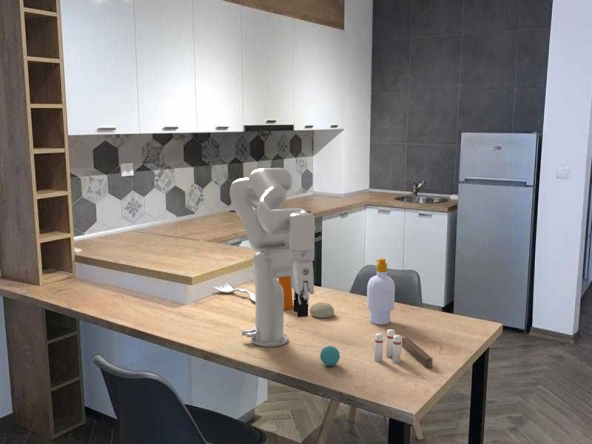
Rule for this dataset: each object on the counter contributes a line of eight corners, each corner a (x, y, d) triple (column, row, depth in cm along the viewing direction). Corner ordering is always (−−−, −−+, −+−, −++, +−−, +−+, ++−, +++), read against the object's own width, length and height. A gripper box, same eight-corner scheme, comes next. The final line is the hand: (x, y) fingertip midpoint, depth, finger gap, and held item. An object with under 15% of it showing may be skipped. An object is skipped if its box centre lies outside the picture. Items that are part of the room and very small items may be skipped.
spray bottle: (269, 311, 232) (269, 245, 227) (279, 303, 242) (279, 240, 237) (285, 313, 229) (286, 247, 225) (295, 305, 239) (296, 242, 235)
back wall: (426, 368, 181) (426, 359, 180) (401, 346, 198) (402, 337, 198) (432, 367, 181) (432, 358, 181) (407, 345, 199) (407, 337, 198)
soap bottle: (360, 322, 221) (362, 259, 217) (376, 315, 229) (378, 254, 224) (383, 328, 214) (385, 263, 210) (399, 321, 222) (401, 259, 218)
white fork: (224, 288, 263) (224, 281, 263) (280, 302, 244) (280, 294, 243) (210, 293, 256) (210, 285, 256) (266, 308, 237) (266, 299, 236)
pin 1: (387, 357, 189) (388, 332, 187) (384, 354, 191) (385, 329, 190) (395, 356, 189) (396, 331, 188) (391, 353, 192) (393, 328, 190)
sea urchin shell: (317, 304, 235) (329, 294, 230) (328, 321, 233) (341, 310, 228) (303, 310, 228) (315, 299, 224) (314, 327, 226) (326, 316, 221)
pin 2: (394, 363, 184) (395, 337, 182) (390, 360, 186) (392, 335, 185) (401, 363, 185) (402, 337, 183) (398, 360, 187) (399, 334, 185)
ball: (323, 369, 179) (323, 351, 178) (317, 361, 185) (318, 343, 184) (342, 368, 181) (342, 349, 180) (336, 360, 186) (336, 342, 185)
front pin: (376, 362, 185) (377, 336, 184) (373, 359, 188) (374, 333, 186) (383, 361, 186) (384, 335, 184) (380, 358, 188) (381, 332, 187)
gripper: (321, 260, 167) (320, 322, 170) (306, 247, 183) (305, 304, 186) (296, 261, 165) (295, 324, 169) (282, 248, 181) (282, 306, 184)
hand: (300, 313), depth 177 cm, fingers open, 3 cm apart
